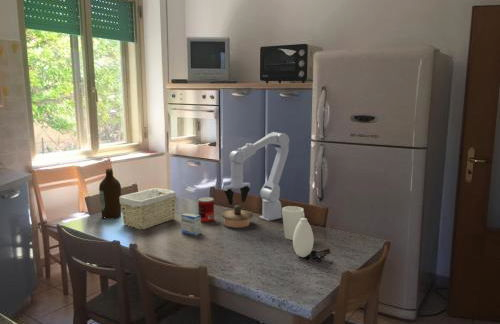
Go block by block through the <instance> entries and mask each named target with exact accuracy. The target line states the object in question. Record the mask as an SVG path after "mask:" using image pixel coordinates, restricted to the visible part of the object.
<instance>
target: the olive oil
mask: <svg viewBox="0 0 500 324" xmlns="http://www.w3.org/2000/svg"><path fill="white" fill-rule="evenodd" d="M98 193H99V199H100V211H101V218H102V217H105V218H114V219H116V218H115V217H118V218H120V217H121V216H122V210H121V209H122V208H121V204H120V199H119V197H120V196H122V185H121V183H120V181H119V179H117V178H116V177H115V176H114V171H113V168H106V169H105V177H104V178H103V179H102V180H101V181H100V183H99V187H98ZM119 216H120V217H119ZM105 218H104V219H105Z"/></svg>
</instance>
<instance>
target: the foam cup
mask: <svg viewBox="0 0 500 324" xmlns="http://www.w3.org/2000/svg"><path fill="white" fill-rule="evenodd" d="M304 211H305V210H304V208H303V207H300V206H296V205H295V206H293V205H292V206H291V205H288V206H284V207H281V216H282V222H283V231H284V238H285V239H287V240H291V241H293V235H294V231H295V228H296V226H297V224H298V223H299V222H300V219H301V218H303V213H304V214H305V212H304Z"/></svg>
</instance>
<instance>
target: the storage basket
mask: <svg viewBox="0 0 500 324" xmlns="http://www.w3.org/2000/svg"><path fill="white" fill-rule="evenodd" d="M119 199H120V204H121V216H122V221H123V225H124V226H126V225H128V226H127V227H130V226H131V227H130V228H133V227H135V228H134V229H137V230H142V229H143V230H146V228H147V229H149V228H152V227H156V226H157V225H161V224H163V223H166V222H169V221H172V220H175V218H176V202H177V201H176V200H177V193H176V191H174V190H171V189H165V188H161V187H160V188H158V187H153V188H148V189H144V190H140V191H136V192H132V193H128V194H124V195H122V194H121V196H120V197H119ZM155 225H156V226H155Z"/></svg>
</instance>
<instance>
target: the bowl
mask: <svg viewBox="0 0 500 324" xmlns="http://www.w3.org/2000/svg"><path fill="white" fill-rule="evenodd" d="M250 220H251V219H247V220H240V221H235V220H227V219H224V225H225V226H226V227H228V228H234V229H235V228H245V227H248V226H249V225H251V224H250Z"/></svg>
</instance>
